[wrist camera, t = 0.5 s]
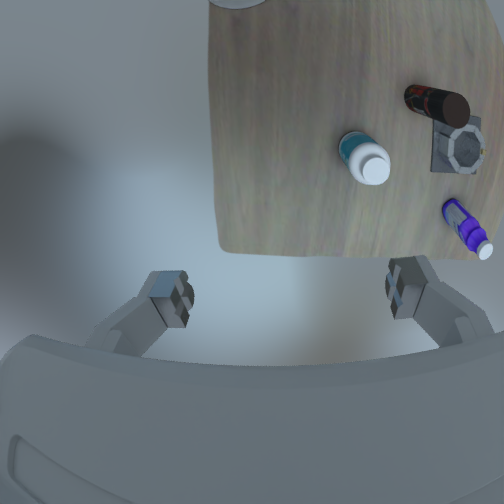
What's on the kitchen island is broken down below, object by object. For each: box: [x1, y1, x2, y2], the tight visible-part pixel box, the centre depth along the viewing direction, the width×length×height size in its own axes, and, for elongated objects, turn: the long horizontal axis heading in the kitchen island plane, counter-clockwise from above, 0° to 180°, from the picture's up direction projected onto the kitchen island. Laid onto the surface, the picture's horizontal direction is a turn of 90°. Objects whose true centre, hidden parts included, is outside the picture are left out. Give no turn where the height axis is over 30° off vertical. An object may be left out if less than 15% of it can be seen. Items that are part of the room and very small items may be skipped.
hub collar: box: [430, 116, 486, 174], centre depth 40 cm, size 14×14×5 cm
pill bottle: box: [339, 132, 390, 185], centre depth 42 cm, size 8×7×14 cm
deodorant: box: [404, 85, 470, 129], centre depth 33 cm, size 6×6×15 cm
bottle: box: [443, 199, 493, 260], centre depth 45 cm, size 7×6×17 cm
